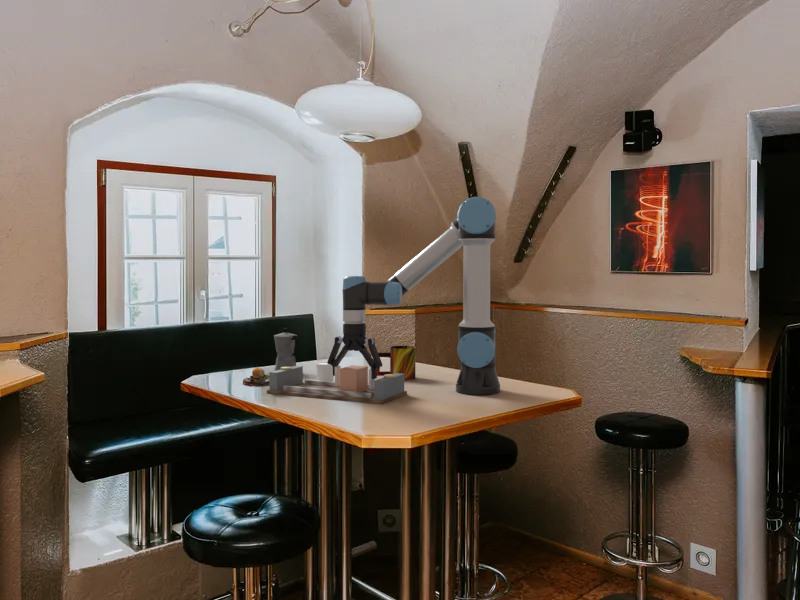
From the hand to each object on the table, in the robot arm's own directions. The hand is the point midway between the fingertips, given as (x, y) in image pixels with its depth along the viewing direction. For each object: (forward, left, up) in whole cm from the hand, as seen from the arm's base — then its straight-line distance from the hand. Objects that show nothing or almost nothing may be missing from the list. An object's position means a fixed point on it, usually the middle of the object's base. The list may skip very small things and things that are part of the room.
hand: (354, 387), depth 229 cm
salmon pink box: (0, 0, -1) cm, 1 cm away
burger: (+43, -6, -3) cm, 44 cm away
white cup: (+22, -18, -3) cm, 29 cm away
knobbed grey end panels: (+7, 0, -2) cm, 7 cm away
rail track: (+7, 0, -3) cm, 8 cm away
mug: (+1, -36, -3) cm, 36 cm away
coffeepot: (+47, -30, -3) cm, 56 cm away
